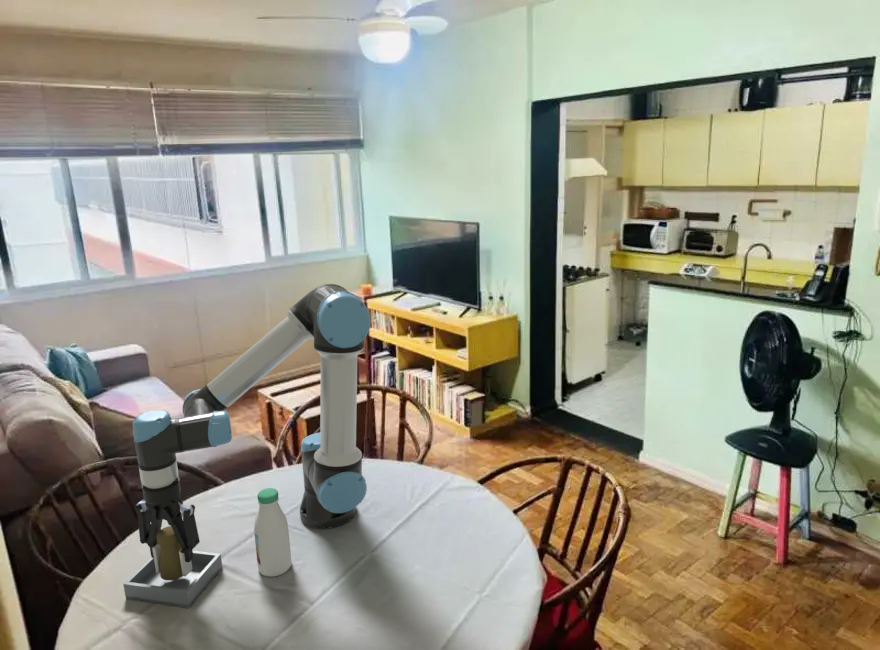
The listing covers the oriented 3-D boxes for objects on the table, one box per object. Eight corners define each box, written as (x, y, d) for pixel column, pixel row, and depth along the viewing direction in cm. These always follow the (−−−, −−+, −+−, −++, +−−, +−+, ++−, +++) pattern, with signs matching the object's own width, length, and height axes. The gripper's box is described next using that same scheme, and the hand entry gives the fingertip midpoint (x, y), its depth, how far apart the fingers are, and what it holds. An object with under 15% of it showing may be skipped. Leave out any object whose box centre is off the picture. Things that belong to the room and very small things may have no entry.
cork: (165, 564, 142) (159, 522, 139) (192, 562, 143) (186, 521, 140) (156, 581, 136) (149, 538, 133) (184, 579, 137) (177, 536, 134)
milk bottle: (297, 560, 148) (291, 486, 142) (279, 580, 141) (272, 503, 135) (270, 554, 150) (263, 481, 145) (251, 574, 143) (243, 498, 138)
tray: (222, 568, 145) (220, 553, 144) (189, 608, 132) (186, 592, 131) (164, 560, 148) (162, 546, 147) (125, 599, 135) (123, 583, 134)
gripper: (209, 475, 135) (220, 565, 141) (133, 468, 139) (148, 556, 145) (189, 493, 128) (202, 586, 134) (110, 485, 132) (126, 576, 138)
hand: (174, 570), depth 139 cm, fingers closed on cork, 6 cm apart
